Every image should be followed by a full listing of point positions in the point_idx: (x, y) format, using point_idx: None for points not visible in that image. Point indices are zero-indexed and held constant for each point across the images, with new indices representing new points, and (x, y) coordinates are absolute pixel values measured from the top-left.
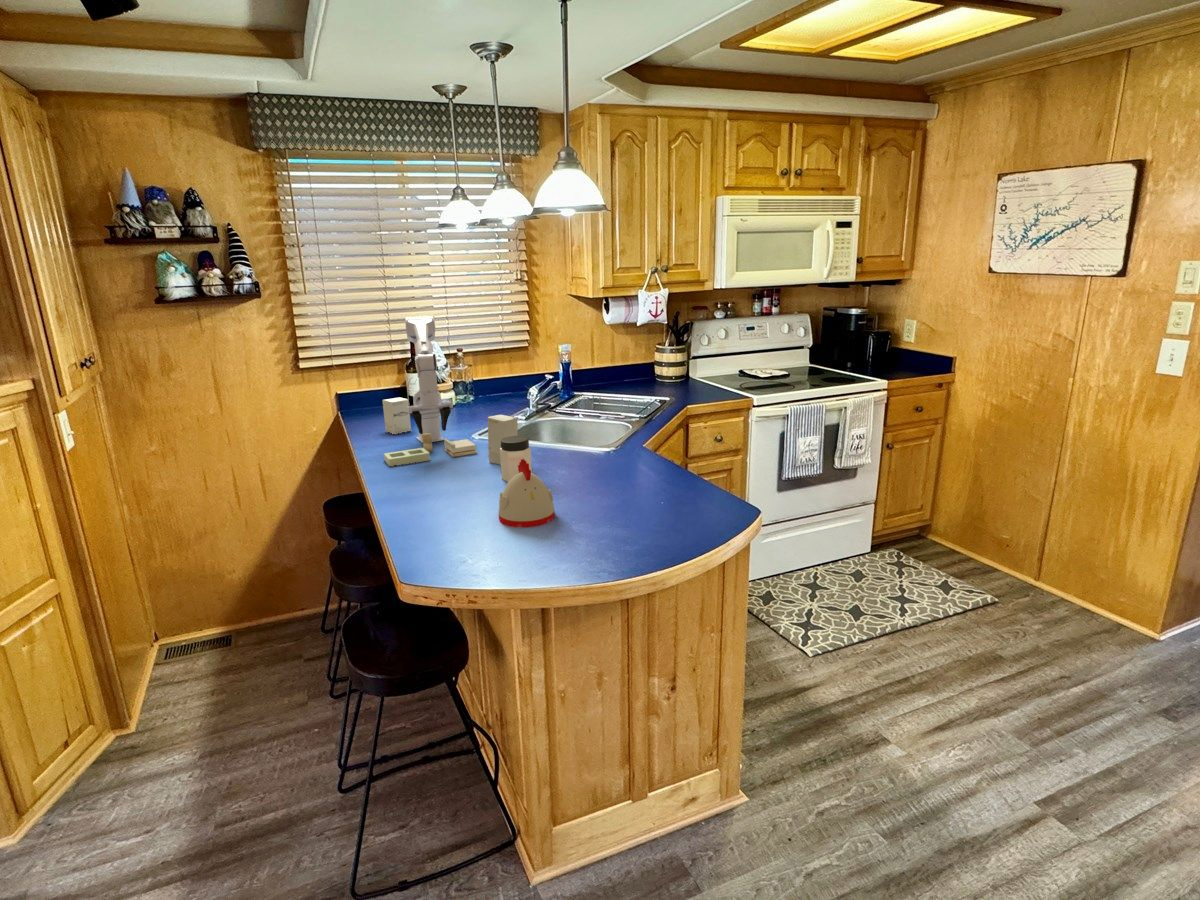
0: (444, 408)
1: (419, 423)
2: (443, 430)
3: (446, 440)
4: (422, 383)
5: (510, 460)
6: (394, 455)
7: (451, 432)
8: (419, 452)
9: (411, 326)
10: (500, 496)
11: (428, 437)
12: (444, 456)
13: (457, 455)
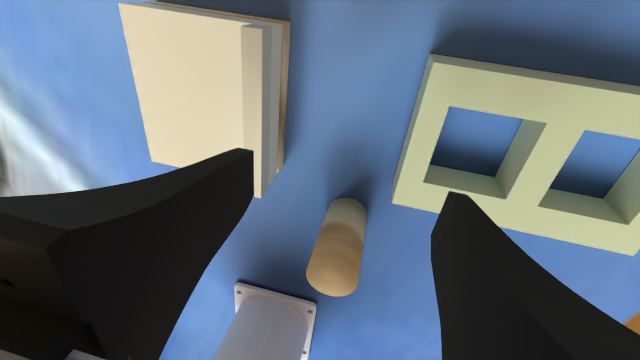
0: (36, 330)
1: (522, 264)
2: (253, 159)
3: (258, 165)
4: None
5: None
6: (584, 209)
7: (193, 329)
8: (430, 175)
9: None
10: None
11: (335, 248)
12: (326, 72)
13: (262, 18)
